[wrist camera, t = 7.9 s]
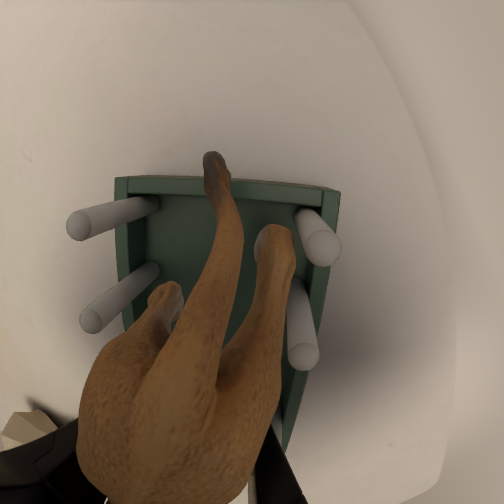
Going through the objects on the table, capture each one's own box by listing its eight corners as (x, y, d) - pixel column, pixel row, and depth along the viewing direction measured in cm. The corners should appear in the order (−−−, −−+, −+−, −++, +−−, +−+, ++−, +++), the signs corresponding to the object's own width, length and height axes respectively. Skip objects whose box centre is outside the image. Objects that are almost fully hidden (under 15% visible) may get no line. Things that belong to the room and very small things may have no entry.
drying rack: (328, 187, 11) (380, 205, 5) (283, 432, 15) (279, 513, 9) (143, 175, 12) (44, 185, 6) (162, 413, 16) (129, 484, 10)
